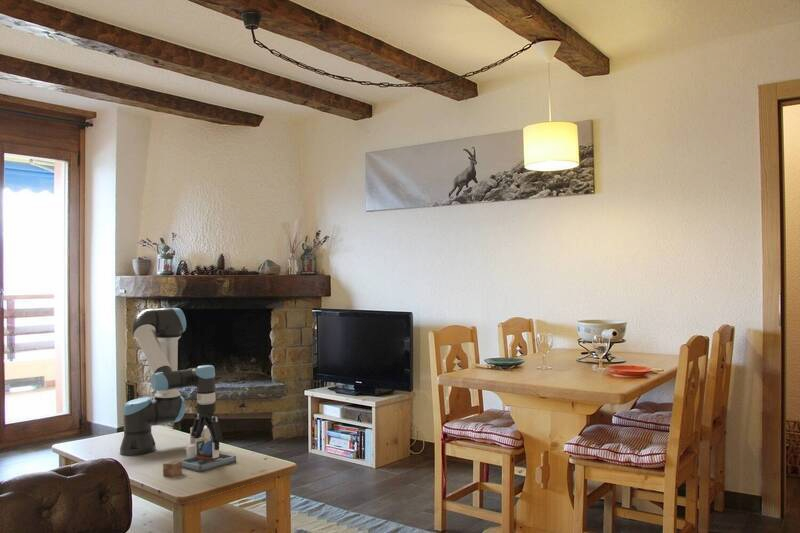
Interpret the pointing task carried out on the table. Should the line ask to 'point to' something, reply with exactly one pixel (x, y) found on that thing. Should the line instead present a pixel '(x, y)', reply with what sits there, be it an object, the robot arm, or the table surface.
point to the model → (205, 451)
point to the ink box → (205, 434)
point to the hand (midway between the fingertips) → (207, 455)
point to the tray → (207, 463)
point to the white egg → (191, 450)
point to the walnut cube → (172, 468)
